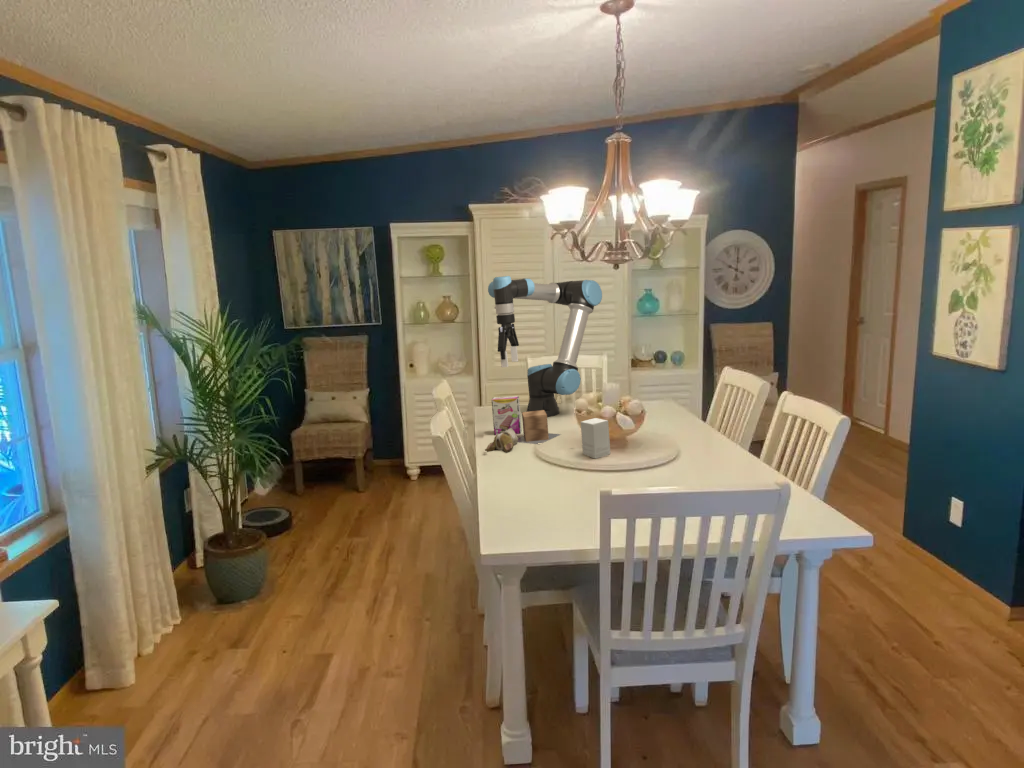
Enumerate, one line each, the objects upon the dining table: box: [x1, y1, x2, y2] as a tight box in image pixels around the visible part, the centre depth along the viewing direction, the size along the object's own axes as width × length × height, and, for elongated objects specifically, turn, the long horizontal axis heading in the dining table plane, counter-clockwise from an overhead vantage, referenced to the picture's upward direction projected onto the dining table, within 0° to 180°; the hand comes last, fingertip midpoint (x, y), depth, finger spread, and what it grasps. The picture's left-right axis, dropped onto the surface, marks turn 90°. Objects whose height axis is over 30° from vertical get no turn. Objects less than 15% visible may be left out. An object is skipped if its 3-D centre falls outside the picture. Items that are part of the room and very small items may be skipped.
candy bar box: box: [491, 395, 523, 436], centre depth 288 cm, size 11×5×16 cm, turn 84°
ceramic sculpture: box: [484, 428, 519, 453], centre depth 266 cm, size 11×9×15 cm
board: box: [517, 432, 562, 445], centre depth 277 cm, size 16×14×1 cm
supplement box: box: [580, 417, 611, 459], centre depth 249 cm, size 7×7×13 cm
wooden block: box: [521, 410, 549, 442], centre depth 276 cm, size 9×9×10 cm
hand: (510, 364), depth 292 cm, fingers open, 13 cm apart
